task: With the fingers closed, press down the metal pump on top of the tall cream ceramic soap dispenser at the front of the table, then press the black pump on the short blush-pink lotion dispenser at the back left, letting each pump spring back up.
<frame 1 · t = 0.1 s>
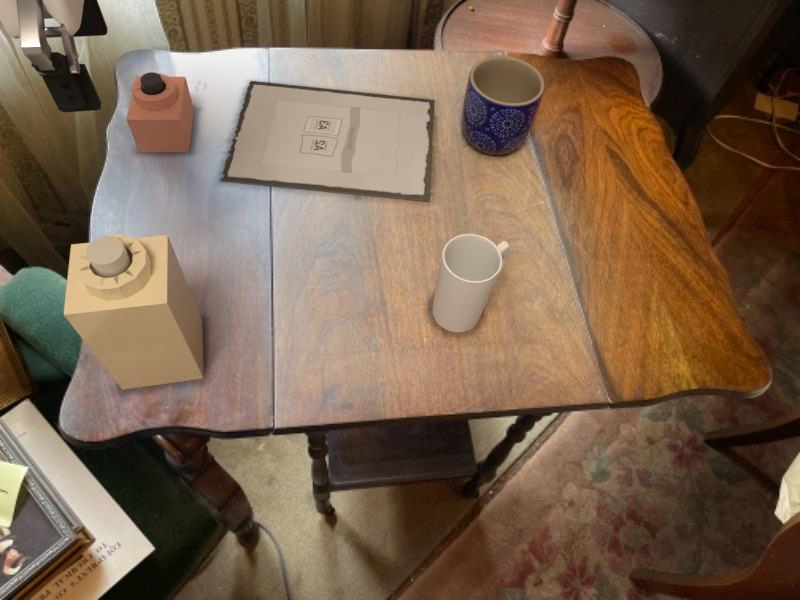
hand: (85, 69, 52), 31 cm above the table, tool pointing down, fingers open, 9 cm apart
mug: (465, 307, 79), on the table
lotion pump: (152, 83, 84), point 8 cm above the table, slide at 0.1 cm
planter: (491, 139, 95), on the table
lotion dispenser: (167, 130, 91), on the table
soap dispenser: (163, 353, 72), on the table
soap pump: (108, 256, 55), point 20 cm above the table, slide at 0.1 cm
picture frame: (334, 139, 93), on the table
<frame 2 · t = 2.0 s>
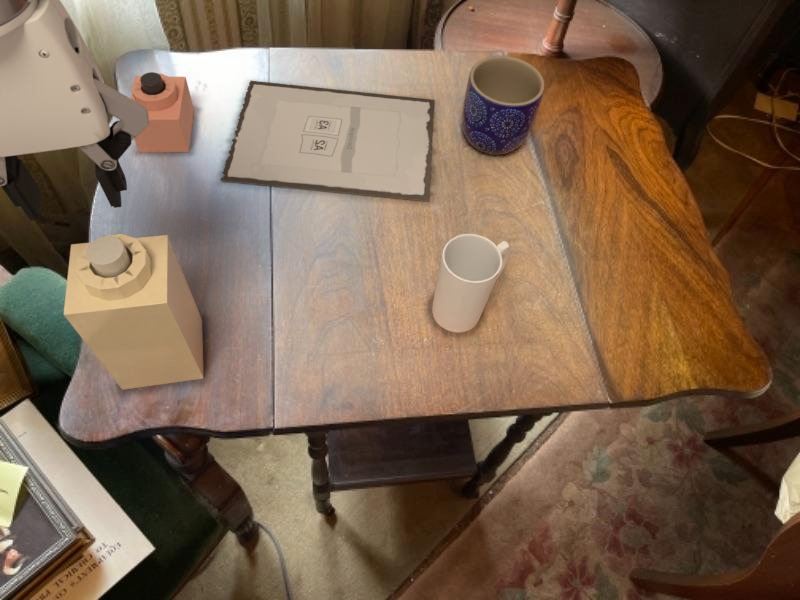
hand: (76, 199, 49), 27 cm above the table, tool pointing down, fingers open, 5 cm apart
nothing on the table moved.
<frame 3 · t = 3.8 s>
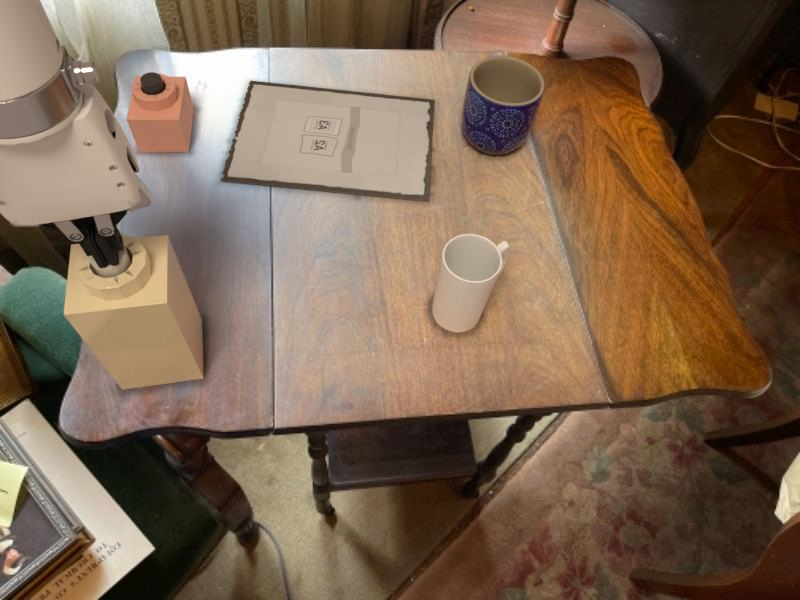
hand: (109, 253, 55), 20 cm above the table, tool pointing down, fingers closed
soap pump: (111, 260, 56), point 19 cm above the table, slide at -0.6 cm, touching gripper
everything else where it was.
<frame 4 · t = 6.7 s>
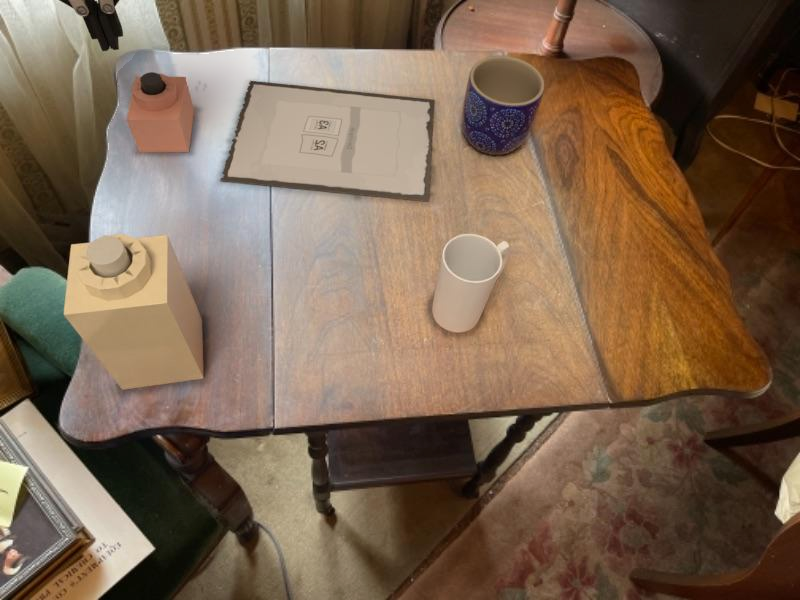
hand: (110, 41, 64), 24 cm above the table, tool pointing down, fingers closed
soap pump: (108, 256, 55), point 20 cm above the table, slide at 0.1 cm
everything else where it was.
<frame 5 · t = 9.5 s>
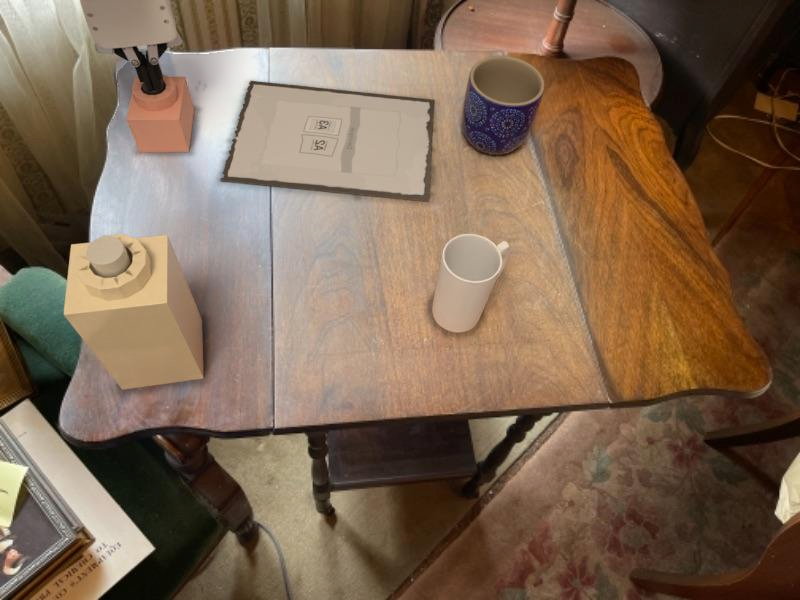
hand: (153, 83, 84), 8 cm above the table, tool pointing down, fingers closed
lotion pump: (154, 89, 84), point 7 cm above the table, slide at -0.9 cm, touching gripper
everything else where it was.
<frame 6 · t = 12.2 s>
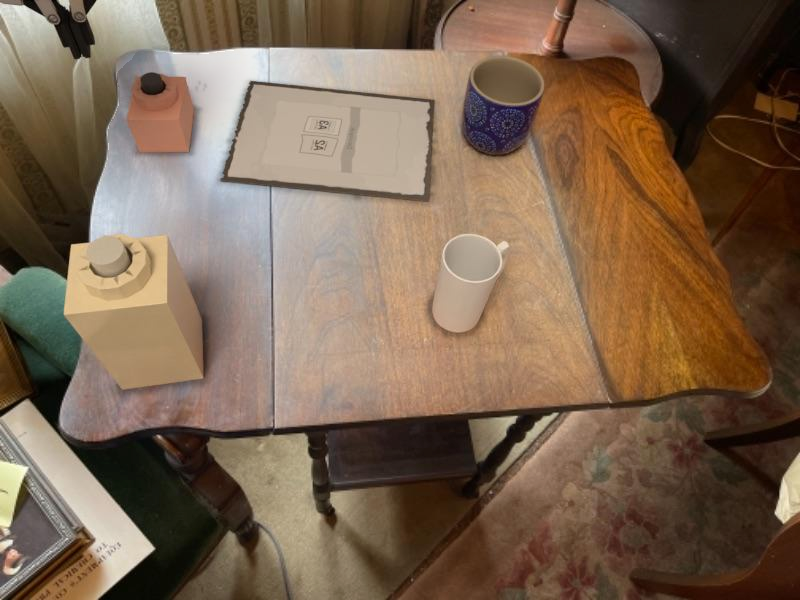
hand: (82, 50, 64), 23 cm above the table, tool pointing down, fingers closed
lotion pump: (152, 83, 84), point 8 cm above the table, slide at 0.1 cm
everything else where it was.
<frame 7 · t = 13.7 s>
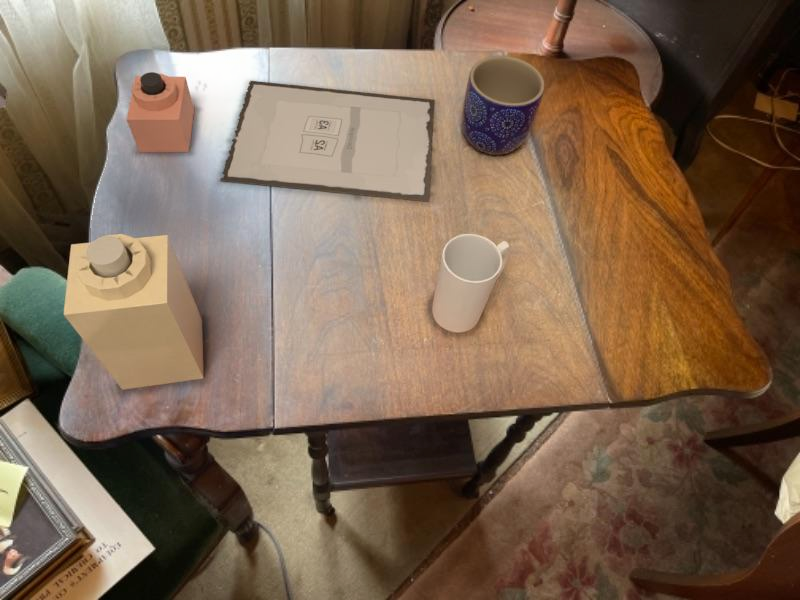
nothing on the table moved.
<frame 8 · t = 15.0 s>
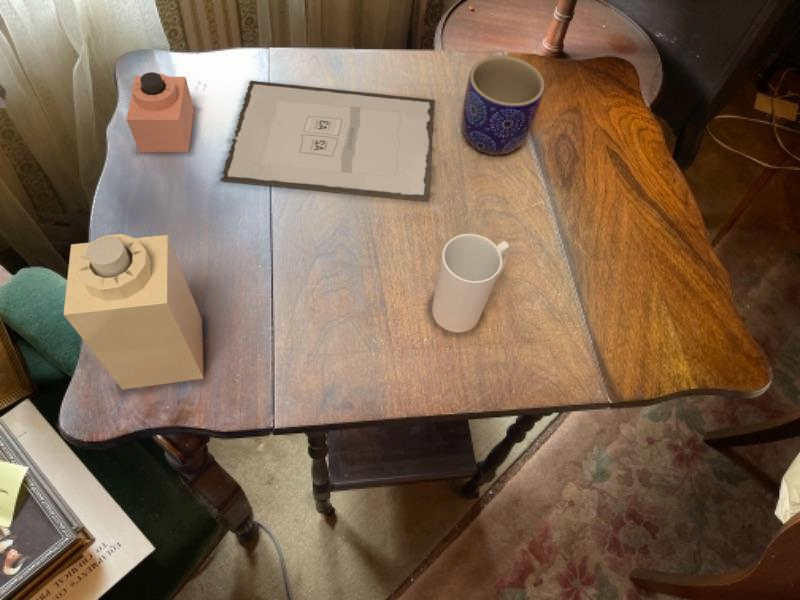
nothing on the table moved.
at the end: soap pump pushed in 1.3 cm at the most during the clip, back to where it started at the end; lotion pump pushed in 1.1 cm at the most during the clip, back to where it started at the end; soap pump slide at 0.1 cm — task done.
